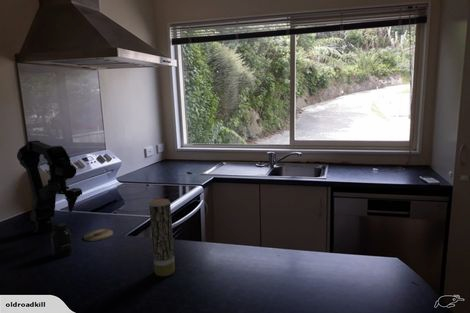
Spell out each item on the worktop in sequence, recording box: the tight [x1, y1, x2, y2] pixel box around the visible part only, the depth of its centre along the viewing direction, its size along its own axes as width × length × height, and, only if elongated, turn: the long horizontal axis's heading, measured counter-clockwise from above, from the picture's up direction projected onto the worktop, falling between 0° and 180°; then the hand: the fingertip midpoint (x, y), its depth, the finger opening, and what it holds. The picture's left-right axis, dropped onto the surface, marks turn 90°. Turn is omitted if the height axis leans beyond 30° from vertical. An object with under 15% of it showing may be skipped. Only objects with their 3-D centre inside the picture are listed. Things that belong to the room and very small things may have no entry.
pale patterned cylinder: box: [148, 198, 176, 277], centre depth 114 cm, size 7×7×25 cm
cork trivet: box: [83, 228, 114, 242], centre depth 151 cm, size 12×12×1 cm
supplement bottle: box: [50, 222, 73, 259], centre depth 132 cm, size 7×7×12 cm
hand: (62, 211), depth 146 cm, fingers open, 9 cm apart
